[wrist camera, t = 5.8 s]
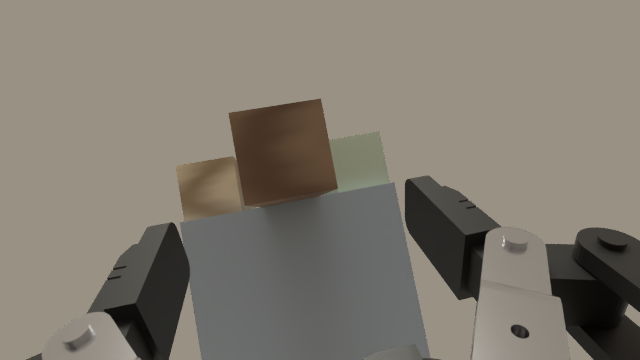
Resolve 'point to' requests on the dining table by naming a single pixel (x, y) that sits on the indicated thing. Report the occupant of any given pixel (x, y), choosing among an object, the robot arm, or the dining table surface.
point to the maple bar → (210, 188)
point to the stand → (305, 279)
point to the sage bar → (358, 162)
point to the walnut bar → (283, 153)
